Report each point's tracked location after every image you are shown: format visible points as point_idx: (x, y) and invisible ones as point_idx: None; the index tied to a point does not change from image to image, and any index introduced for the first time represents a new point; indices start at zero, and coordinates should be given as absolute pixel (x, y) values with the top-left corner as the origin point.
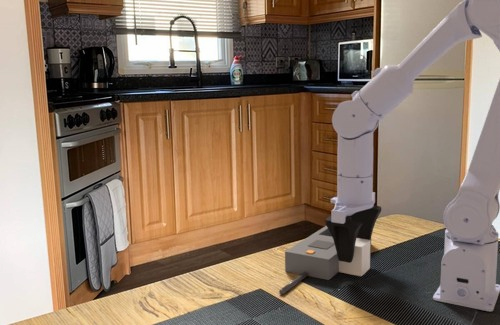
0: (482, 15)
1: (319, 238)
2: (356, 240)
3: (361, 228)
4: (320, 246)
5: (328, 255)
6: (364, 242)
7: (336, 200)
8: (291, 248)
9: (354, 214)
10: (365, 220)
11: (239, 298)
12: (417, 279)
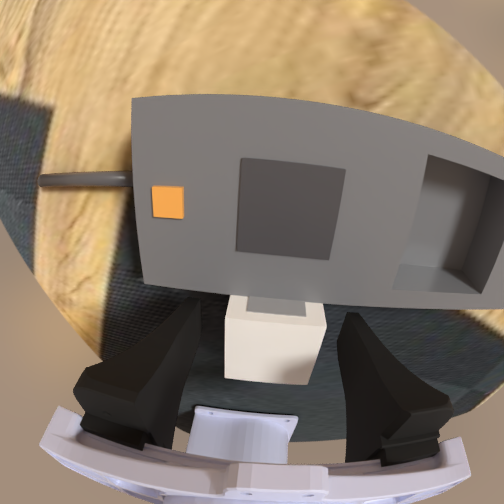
0: None
1: (376, 174)
2: (288, 358)
3: (357, 379)
4: (256, 216)
5: (176, 273)
6: (276, 377)
7: (213, 497)
8: (178, 101)
9: (379, 409)
10: (357, 417)
11: (10, 109)
12: (279, 389)
